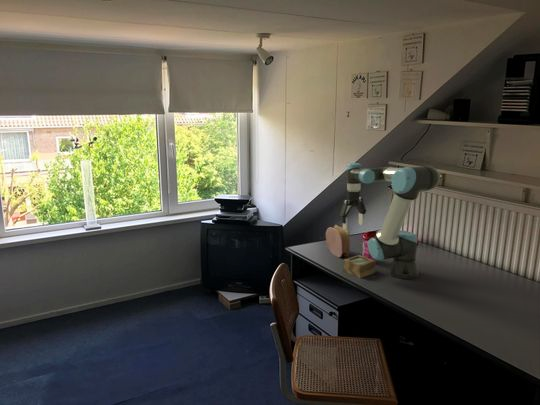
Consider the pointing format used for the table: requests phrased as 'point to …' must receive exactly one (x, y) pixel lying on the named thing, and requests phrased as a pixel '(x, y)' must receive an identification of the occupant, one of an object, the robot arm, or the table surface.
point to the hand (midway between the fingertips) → (353, 226)
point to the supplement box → (366, 251)
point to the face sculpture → (338, 241)
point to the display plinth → (359, 266)
